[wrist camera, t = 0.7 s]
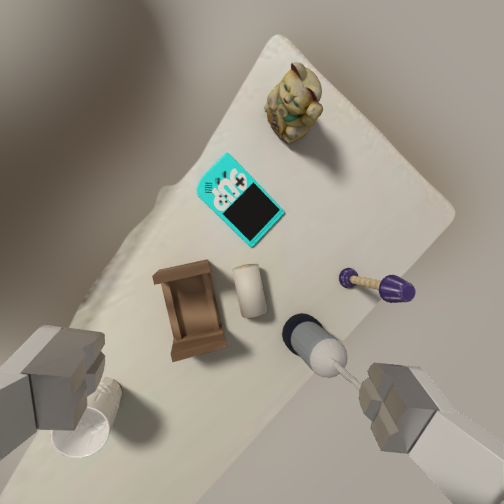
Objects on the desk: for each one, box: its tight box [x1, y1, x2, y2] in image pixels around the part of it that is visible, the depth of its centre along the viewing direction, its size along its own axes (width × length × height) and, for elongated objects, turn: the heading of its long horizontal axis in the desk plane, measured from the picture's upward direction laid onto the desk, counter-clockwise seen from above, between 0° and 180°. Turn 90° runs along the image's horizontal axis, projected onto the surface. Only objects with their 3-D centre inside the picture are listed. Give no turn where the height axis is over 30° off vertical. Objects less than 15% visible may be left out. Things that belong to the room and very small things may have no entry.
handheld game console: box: [197, 153, 284, 247], centre depth 54 cm, size 10×16×1 cm, turn 46°
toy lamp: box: [339, 268, 415, 303], centre depth 51 cm, size 5×5×17 cm
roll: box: [232, 264, 267, 318], centre depth 53 cm, size 10×5×5 cm, turn 11°
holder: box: [152, 260, 227, 362], centre depth 49 cm, size 14×9×8 cm, turn 11°
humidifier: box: [282, 313, 361, 390], centre depth 46 cm, size 8×8×25 cm
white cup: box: [51, 377, 122, 458], centre depth 46 cm, size 8×8×10 cm
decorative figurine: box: [264, 63, 323, 144], centre depth 47 cm, size 10×8×15 cm
